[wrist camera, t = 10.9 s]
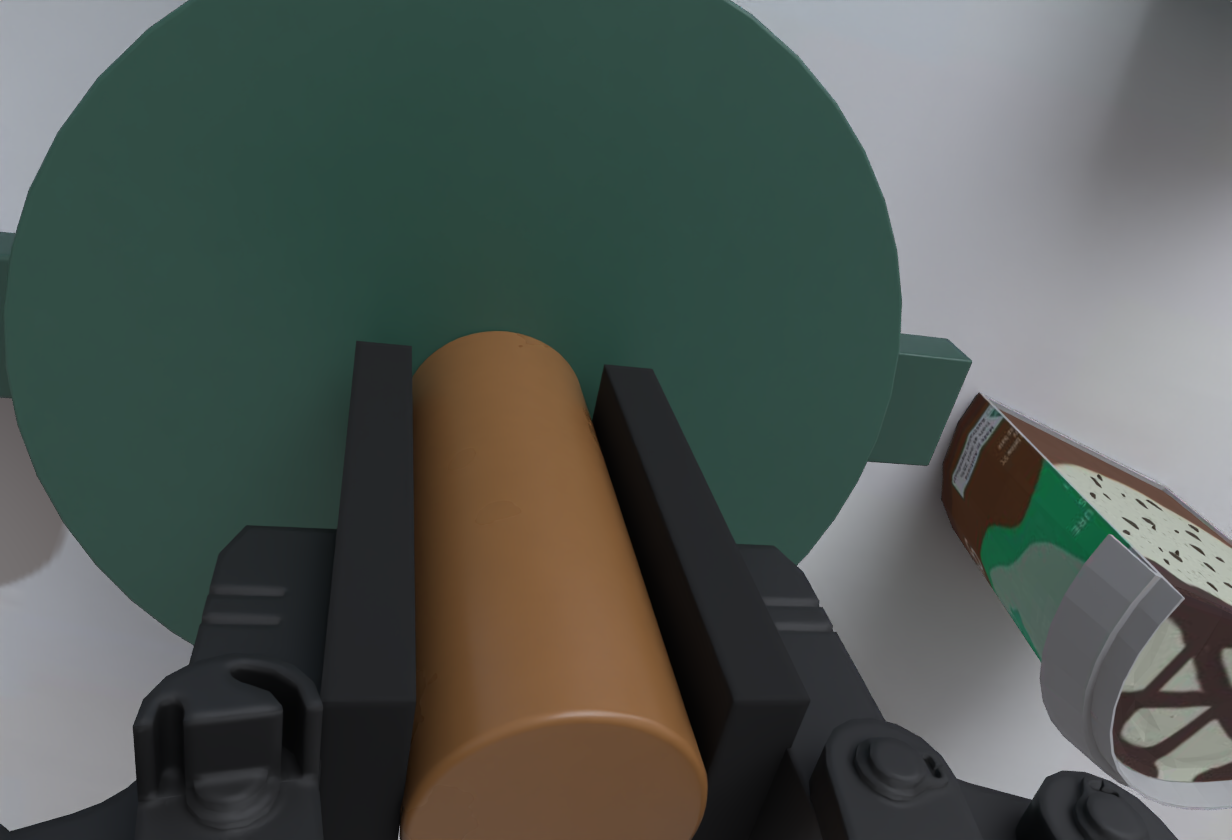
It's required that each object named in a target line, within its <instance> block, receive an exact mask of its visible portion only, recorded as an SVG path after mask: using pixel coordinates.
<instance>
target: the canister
mask: <svg viewBox="0 0 1232 840" xmlns="http://www.w3.org/2000/svg"><path fill="white" fill-rule="evenodd" d="M15 234H16V233H7V232H0V397H1V398H12V396H11V391H10V387H9V382H8V377H7V372H6V366H5V344H4V321H3V306H4V298H5V290H6V282H7V274H8V266H9V258H10V250H11V247H12V243H13V240H14V237H15ZM971 364H972V360H971V359H970V358H968V357H967V356H966V355H965V354H964V353H963V352H962V351H961V350H960V349H958V348H957V347H956V346H955V345H954V344H953V343H952V342H951V341H949V340H948V339H945V338H936V337H927V336H918V335H909V334H901V333H900V350H899V356H898V361H897V367H896V372H895V378H894V383H893V389H892V394H891V398H890V401H889V404H888V407H887V411H886V414H885V417H884V420H883V423H882V426H881V429H880V433H879V436H878V439H877V441H876V443H875V446H874V448H873V450H872V452H871V454H870V456H869V459H868V461H867V462H880V463H894V464H908V465H922V466H927V465H928V464H929V462H930V460H931V458H932V455H933V453H934V451H935V448H936V446H937V443H938V441H939V439H940V436H941V434H942V432H943V429H944V427H945V425H946V422H947V420H948V418H949V415H950V413H951V411H952V408H953V406H954V404H955V401H956V399H957V397H958V394H959V392H960V390H961V387H962V385H963V383H964V380H965V378H966V375H967V373H968V371H969V368H970V366H971Z"/></svg>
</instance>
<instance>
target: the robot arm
mask: <svg viewBox="0 0 1232 840" xmlns="http://www.w3.org/2000/svg"><path fill="white" fill-rule="evenodd" d="M592 424H593V427H594V430H595V433H596V436H597V439H598V442H599V445H600V448H601V451H602V454H603V457H604V460H605V463H606V466H607V470H608V473H609V476H610V479H611V482H612V485H613V488H614V491H615V494H616V497H617V500H618V503H619V506H620V509H621V512H622V515H623V519H624V522H625V525H626V528H627V531H628V534H629V537H630V540H631V543H632V546H633V549H634V552H635V555H636V558H637V561H638V565H639V568H640V571H641V574H642V577H643V580H644V583H645V586H646V589H647V592H648V595H649V598H650V601H651V604H652V607H653V611H654V614H655V617H656V620H657V623H658V626H659V629H660V632H661V635H662V638H663V641H664V644H665V647H666V650H667V653H668V656H669V660H670V663H671V666H672V669H673V672H674V675H675V678H676V681H677V684H678V687H679V690H680V693H681V696H682V699H683V702H684V706H685V709H686V712H687V715H688V718H689V721H690V724H691V727H692V730H693V733H694V736H695V739H696V742H697V745H698V748H699V752H700V755H701V758H702V761H703V764H704V767H705V770H706V773H707V780H708V794H707V803H706V808H705V812H704V815H703V819H702V821H701V823H700V825H699V827H698V830H697V831H696V833H695V835H694V836H693V838H692V839H691V840H1178V839H1177V838H1176V837H1175V835H1174V834H1173V833H1172V832H1171V831H1170V830H1169V829H1168V827H1167V826H1166V825H1165V824H1164V823H1163V822H1162V821H1161V819H1160V818H1158V817H1157V816H1156V815H1155V814H1154V813H1153V812H1152V811H1151V810H1150V809H1149V808H1148V807H1147V806H1146V805H1144V804H1143V803H1142V802H1141V801H1140V800H1139V799H1138V798H1137V797H1135V796H1134V795H1132V794H1130V793H1129V792H1127V791H1125V790H1124V789H1122V788H1121V787H1119V786H1117V785H1116V784H1114V783H1113V782H1111V781H1108V780H1105V779H1103V778H1100V777H1097V776H1094V775H1092V774H1089V773H1086V772H1076V771H1060V772H1058V773H1055V774H1053V775H1051V776H1048V777H1046V778H1045V780H1044V781H1043V783H1042V785H1041V786H1040V788H1039V790H1038V791H1037V793H1036V794H1035V796H1034V798H1033V799H1032V800H1031V799H1027V798H1023V797H1019V796H1016V795H1012V794H1008V793H1004V792H1001V791H997V790H993V789H989V788H986V787H982V786H978V785H974V784H971V783H967V782H965V781H962V780H959V779H956V777H955V776H954V774H953V773H952V771H951V769H950V768H949V766H948V765H947V763H946V762H945V760H944V759H943V757H942V756H941V755H940V754H939V753H938V752H937V751H936V750H934V749H933V748H932V747H931V746H930V745H929V744H928V743H927V742H926V741H924V740H923V739H922V738H921V737H919V736H917V735H915V734H914V733H912V732H910V731H908V730H906V729H904V728H903V727H901V726H899V725H897V724H893V723H890V722H886V721H885V719H884V718H883V716H882V714H881V712H880V710H879V709H878V707H877V705H876V703H875V701H874V699H873V698H872V696H871V694H870V692H869V690H868V689H867V687H866V685H865V683H864V681H863V680H862V678H861V676H860V674H859V672H858V670H857V669H856V667H855V665H854V663H853V661H852V660H851V658H850V656H849V654H848V652H847V651H846V649H845V647H844V645H843V643H842V641H841V640H840V638H839V636H838V634H837V632H833V629H832V628H833V625H832V623H831V622H830V620H829V618H828V616H827V614H826V612H825V611H824V609H823V607H819V600H818V598H817V596H816V594H815V593H814V591H813V589H812V587H811V585H810V583H809V582H808V580H807V578H806V576H805V574H804V573H803V571H802V570H801V569H799V568H798V567H797V566H796V565H795V564H794V563H793V562H792V561H791V560H790V559H788V558H787V557H786V556H785V555H784V554H783V553H782V552H781V551H780V550H779V549H778V548H776V547H775V546H774V545H751V544H736V543H735V540H734V538H733V536H732V534H731V532H730V530H729V528H728V526H727V524H726V522H725V520H724V517H723V515H722V513H721V511H720V509H719V507H718V505H717V503H716V501H715V499H714V496H713V494H712V492H711V490H710V488H709V486H708V484H707V482H706V480H705V478H704V475H703V473H702V471H701V469H700V467H699V465H698V463H697V461H696V459H695V457H694V455H693V452H692V450H691V448H690V446H689V444H688V442H687V440H686V438H685V436H684V434H683V431H682V429H681V427H680V425H679V423H678V421H677V419H676V417H675V415H674V413H673V410H672V408H671V406H670V404H669V402H668V400H667V398H666V396H665V394H664V392H663V390H662V387H661V385H660V383H659V381H658V379H657V377H656V375H655V373H654V371H653V369H649V368H639V367H628V366H618V365H607V364H604V367H603V372H602V377H601V381H600V386H599V390H598V395H597V400H596V404H595V409H594V414H593V418H592ZM415 707H416V642H415V561H414V479H413V398H412V346H407V345H397V344H386V343H376V342H365V341H356V348H355V358H354V367H353V377H352V387H351V397H350V407H349V417H348V427H347V436H346V446H345V456H344V466H343V476H342V486H341V495H340V505H339V515H338V525H337V529H325V528H302V527H279V526H256V525H246V526H245V527H244V528H243V529H242V530H241V531H240V532H239V533H238V534H237V535H236V536H235V537H234V538H233V539H232V540H231V541H230V542H229V543H228V545H227V546H226V547H225V548H224V549H223V550H222V551H221V552H220V553H219V554H218V558H217V562H216V565H215V569H214V573H213V577H212V580H211V584H210V588H209V595H207V599H206V603H205V607H204V610H203V614H202V621H201V624H200V625H199V629H198V633H197V637H196V640H195V644H194V648H193V651H192V655H191V659H190V663H189V665H187V666H185V667H183V668H182V669H180V670H178V671H176V672H174V673H172V674H170V675H168V676H166V677H165V678H164V679H163V680H162V681H161V682H160V683H159V684H158V685H157V686H156V687H155V688H154V689H153V690H152V691H151V692H150V693H149V694H148V695H147V696H146V697H145V698H144V699H143V701H142V704H141V707H140V709H139V712H138V714H137V717H136V720H135V722H134V725H133V736H134V750H135V764H136V778H137V780H136V781H135V782H133V783H132V784H131V785H130V786H129V787H128V788H126V789H124V790H123V791H121V792H119V793H117V794H116V795H114V796H112V797H110V798H109V799H107V800H105V801H103V802H102V803H99V804H97V805H94V806H91V807H89V808H86V809H83V810H81V811H78V812H75V813H73V814H70V815H66V816H63V817H59V818H56V819H52V820H49V821H45V822H42V823H38V824H35V825H31V826H28V827H24V828H21V829H17V830H14V831H10V832H9V830H7V829H6V828H5V827H4V826H3V825H1V824H0V840H398V834H399V826H400V809H401V804H402V800H403V796H404V789H405V782H406V774H407V767H408V759H409V752H410V744H411V737H412V730H413V722H414V715H415Z"/></svg>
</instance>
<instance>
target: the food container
mask: <svg viewBox="0 0 1232 840" xmlns="http://www.w3.org/2000/svg"><path fill="white" fill-rule="evenodd" d="M941 500H942V502H943V505H944V507H945V510H946V513H947V515H948V518H949V520H950V523H951V526H952V528H953V530H954V531H955V533H956V534H957V536H958V537H959V539H960V540H961V542H962V543H963V545H964V546H965V548H966V549H967V551H968V552H969V554H970V555H971V557H972V558H973V560H974V561H975V563H976V564H977V566H978V567H979V569H980V571H981V572H982V574H983V575H984V577H985V578H986V580H987V581H988V583H989V584H990V586H991V587H992V589H993V590H994V592H995V593H996V595H997V596H998V598H999V599H1000V601H1001V602H1002V604H1003V605H1004V607H1005V608H1006V610H1007V611H1008V613H1009V614H1010V616H1011V617H1012V619H1013V620H1014V622H1015V623H1016V625H1017V626H1018V628H1019V629H1020V631H1021V632H1022V634H1023V636H1024V637H1025V639H1026V640H1027V642H1028V643H1029V645H1030V646H1031V648H1032V649H1033V651H1034V652H1035V654H1036V655H1037V657H1038V658H1039V660H1040V661H1041V672H1040V683H1041V691H1042V698H1043V703H1044V705H1045V707H1046V710H1047V712H1048V715H1049V717H1050V719H1051V721H1052V723H1053V724H1054V725H1055V726H1056V727H1057V729H1058V730H1059V731H1060V732H1061V734H1062V735H1063V736H1064V737H1065V738H1066V739H1067V740H1068V741H1069V742H1071V743H1072V744H1073V745H1074V746H1075V747H1076V748H1077V749H1079V750H1080V751H1081V752H1082V753H1083V754H1084V755H1085V756H1087V757H1088V758H1089V759H1090V760H1091V761H1092V762H1093V763H1095V764H1096V765H1097V766H1098V767H1099V768H1100V769H1101V770H1103V771H1104V772H1105V773H1106V774H1108V775H1109V776H1111V777H1112V778H1113V779H1115V780H1116V781H1117V782H1119V783H1120V784H1123V785H1125V786H1128V787H1130V788H1132V789H1134V790H1135V791H1137V792H1138V793H1139V794H1141V795H1142V796H1143V797H1145V798H1147V799H1150V800H1152V801H1155V802H1157V803H1160V804H1162V805H1165V806H1171V807H1176V808H1181V809H1190V810H1217V809H1227V808H1232V540H1231V539H1230V538H1229V537H1227V536H1226V535H1225V534H1224V533H1222V532H1221V531H1220V530H1219V529H1217V528H1216V527H1215V526H1214V525H1213V524H1211V523H1210V522H1209V521H1208V520H1206V519H1205V518H1204V517H1203V516H1201V515H1200V514H1199V513H1198V512H1196V511H1195V510H1194V509H1193V508H1191V507H1190V506H1189V505H1188V504H1186V503H1185V502H1184V501H1183V500H1181V499H1180V498H1179V497H1178V496H1177V495H1175V494H1174V493H1173V492H1172V491H1170V490H1169V489H1168V488H1167V487H1165V486H1164V485H1162V484H1160V483H1158V482H1156V481H1154V480H1152V479H1150V478H1148V477H1146V476H1144V475H1142V474H1140V473H1138V472H1136V471H1134V470H1132V469H1130V468H1128V467H1126V466H1124V465H1122V464H1120V463H1118V462H1116V461H1114V460H1112V459H1110V458H1108V457H1106V456H1104V455H1102V454H1101V453H1099V452H1097V451H1095V450H1093V449H1091V448H1089V447H1087V446H1085V445H1083V444H1081V443H1079V442H1077V441H1075V440H1073V439H1071V438H1069V437H1067V436H1065V435H1063V434H1061V433H1059V432H1057V431H1055V430H1053V429H1051V428H1049V427H1047V426H1045V425H1043V424H1041V423H1039V422H1037V421H1035V420H1033V419H1031V418H1029V417H1027V416H1025V415H1023V414H1021V413H1019V412H1017V411H1015V410H1013V409H1011V408H1009V407H1007V406H1005V405H1003V404H1001V403H999V402H997V401H995V400H993V399H991V398H989V397H987V396H985V395H983V394H981V393H978V395H977V396H976V398H975V399H974V401H973V402H972V404H971V405H970V406H969V408H968V409H967V411H966V412H965V414H964V415H963V417H962V418H961V420H960V421H959V423H958V425H957V428H956V430H955V433H954V436H953V438H952V441H951V443H950V446H949V449H948V451H947V454H946V456H945V459H944V462H943V474H942V496H941Z"/></svg>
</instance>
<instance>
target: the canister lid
mask: <svg viewBox="0 0 1232 840" xmlns="http://www.w3.org/2000/svg"><path fill="white" fill-rule="evenodd" d="M901 310H902V297H901V286H900V276H899V265H898V255H897V248H896V244H895V240H894V235H893V231H892V227H891V223H890V219H889V215H888V211H887V207H886V203H885V199H884V197H883V194H882V192H881V189H880V187H879V184H878V182H877V179H876V177H875V175H874V172H873V170H872V167H871V165H870V162H869V160H868V157H867V155H866V152H865V150H864V148H863V147H862V145H861V143H860V142H859V140H858V138H857V137H856V135H855V133H854V132H853V130H852V128H851V127H850V125H849V123H848V121H847V120H846V118H845V116H844V115H843V113H842V111H841V110H840V108H839V106H838V105H837V103H836V102H835V100H834V99H833V98H832V97H831V95H830V94H829V93H828V92H827V91H826V89H825V88H824V87H823V86H822V84H821V83H820V82H819V81H818V80H817V78H816V77H815V76H814V75H813V73H812V72H811V71H810V70H809V69H808V67H807V66H806V65H805V64H804V62H803V61H802V60H801V59H800V58H799V56H797V55H796V54H795V53H794V52H793V51H792V50H791V49H790V48H789V47H788V46H786V45H785V44H784V43H783V42H782V41H781V40H780V39H779V38H778V37H776V36H775V35H774V34H773V33H772V32H771V31H770V30H769V29H768V28H766V27H765V26H764V25H763V24H762V23H761V22H760V21H759V20H758V19H756V18H755V17H754V16H753V15H752V14H750V13H749V12H747V11H746V10H744V9H743V8H741V7H740V6H738V5H737V4H735V3H734V2H732V1H731V0H188V1H187V2H185V3H184V4H183V5H181V6H180V7H178V8H177V9H175V10H174V11H173V12H171V13H170V14H168V15H167V16H165V17H164V18H163V19H161V20H160V21H158V22H157V23H155V24H154V25H153V26H151V27H150V28H148V29H147V30H146V31H145V32H144V33H143V34H142V35H141V36H140V37H139V38H138V39H137V40H136V41H135V42H134V43H133V44H132V45H131V46H130V47H129V48H128V49H127V50H126V51H125V52H124V53H123V54H122V55H121V56H120V57H119V58H118V59H116V60H115V61H114V62H113V63H112V64H111V65H110V66H109V67H108V68H107V69H106V70H105V71H104V72H103V73H102V74H101V75H100V76H99V77H98V78H97V80H96V81H95V82H94V84H93V85H92V86H91V88H90V89H89V90H88V92H87V93H86V94H85V96H84V97H83V99H82V100H81V101H80V103H79V104H78V105H77V107H76V108H75V109H74V111H73V112H72V114H71V115H70V116H69V118H68V119H67V120H66V122H65V123H64V124H63V126H62V127H61V129H60V130H59V131H58V133H57V135H56V137H55V139H54V141H53V143H52V145H51V147H50V149H49V151H48V153H47V155H46V157H45V159H44V161H43V163H42V165H41V167H40V169H39V171H38V173H37V175H36V177H35V179H34V181H33V183H32V185H31V187H30V189H29V191H28V194H27V197H26V201H25V204H24V207H23V210H22V214H21V217H20V220H19V224H18V227H17V230H16V234H15V237H14V240H13V243H12V247H11V250H10V258H9V266H8V274H7V282H6V290H5V298H4V306H3V321H4V344H5V366H6V372H7V377H8V382H9V387H10V391H11V396H12V401H13V405H14V410H15V415H16V420H17V424H18V427H19V430H20V432H21V435H22V438H23V440H24V443H25V446H26V448H27V451H28V453H29V456H30V459H31V461H32V464H33V467H34V469H35V472H36V474H37V477H38V478H39V480H40V482H41V484H42V485H43V487H44V489H45V491H46V493H47V494H48V496H49V498H50V500H51V502H52V503H53V505H54V507H55V509H56V510H57V512H58V514H59V516H60V518H61V519H62V521H63V523H64V524H65V525H66V527H67V528H68V529H69V531H70V532H71V533H72V535H73V536H74V537H75V538H76V540H77V541H78V542H79V544H80V545H81V546H82V548H83V549H84V550H85V552H86V553H87V554H88V555H89V557H90V558H91V559H92V561H93V562H94V563H95V565H96V566H97V567H98V568H99V569H100V570H101V571H102V572H103V573H104V574H105V575H106V576H107V577H108V578H109V579H110V580H111V581H112V582H113V583H114V584H115V585H116V586H117V587H118V588H119V589H120V590H121V591H122V592H123V593H124V594H125V595H126V596H127V597H128V598H129V599H130V600H131V601H133V602H134V603H135V604H137V605H138V606H139V607H140V608H142V609H143V610H144V611H146V612H147V613H148V614H149V615H151V616H152V617H153V618H154V619H156V620H157V621H158V622H160V623H161V624H162V625H163V626H165V627H166V628H167V629H169V630H170V631H171V632H173V633H174V634H176V635H178V636H179V637H181V638H182V639H184V640H186V641H187V642H189V643H191V644H192V645H194V644H195V640H196V637H197V633H198V629H199V625H200V624H201V621H202V614H203V610H204V607H205V603H206V599H207V595H209V588H210V584H211V580H212V577H213V573H214V569H215V565H216V562H217V558H218V554H219V553H220V552H221V551H222V550H223V549H224V548H225V547H226V546H227V545H228V543H229V542H230V541H231V540H232V539H233V538H234V537H235V536H236V535H237V534H238V533H239V532H240V531H241V530H242V529H243V528H244V527H245V526H246V525H256V526H279V527H302V528H325V529H337V525H338V515H339V505H340V495H341V486H342V476H343V466H344V456H345V446H346V436H347V427H348V417H349V407H350V397H351V387H352V377H353V367H354V358H355V348H356V341H365V342H376V343H386V344H397V345H407V346H412V398H413V479H414V561H415V642H416V707H415V715H414V722H413V730H412V737H411V744H410V752H409V759H408V767H407V774H406V782H405V789H404V796H403V800H402V804H401V809H400V840H691V839H692V838H693V836H694V835H695V833H696V831H697V830H698V827H699V825H700V823H701V821H702V819H703V815H704V812H705V808H706V803H707V794H708V780H707V773H706V770H705V767H704V764H703V761H702V758H701V755H700V752H699V748H698V745H697V742H696V739H695V736H694V733H693V730H692V727H691V724H690V721H689V718H688V715H687V712H686V709H685V706H684V702H683V699H682V696H681V693H680V690H679V687H678V684H677V681H676V678H675V675H674V672H673V669H672V666H671V663H670V660H669V656H668V653H667V650H666V647H665V644H664V641H663V638H662V635H661V632H660V629H659V626H658V623H657V620H656V617H655V614H654V611H653V607H652V604H651V601H650V598H649V595H648V592H647V589H646V586H645V583H644V580H643V577H642V574H641V571H640V568H639V565H638V561H637V558H636V555H635V552H634V549H633V546H632V543H631V540H630V537H629V534H628V531H627V528H626V525H625V522H624V519H623V515H622V512H621V509H620V506H619V503H618V500H617V497H616V494H615V491H614V488H613V485H612V482H611V479H610V476H609V473H608V470H607V466H606V463H605V460H604V457H603V454H602V451H601V448H600V445H599V442H598V439H597V436H596V433H595V430H594V427H593V424H592V418H593V414H594V409H595V404H596V400H597V395H598V390H599V386H600V381H601V377H602V372H603V367H604V364H607V365H618V366H628V367H639V368H649V369H653V371H654V373H655V375H656V377H657V379H658V381H659V383H660V385H661V387H662V390H663V392H664V394H665V396H666V398H667V400H668V402H669V404H670V406H671V408H672V410H673V413H674V415H675V417H676V419H677V421H678V423H679V425H680V427H681V429H682V431H683V434H684V436H685V438H686V440H687V442H688V444H689V446H690V448H691V450H692V452H693V455H694V457H695V459H696V461H697V463H698V465H699V467H700V469H701V471H702V473H703V475H704V478H705V480H706V482H707V484H708V486H709V488H710V490H711V492H712V494H713V496H714V499H715V501H716V503H717V505H718V507H719V509H720V511H721V513H722V515H723V517H724V520H725V522H726V524H727V526H728V528H729V530H730V532H731V534H732V536H733V538H734V540H735V543H736V544H751V545H774V546H775V547H776V548H778V549H779V550H780V551H781V552H782V553H783V554H784V555H785V556H786V557H787V558H788V559H790V560H791V561H792V562H793V563H794V564H795V565H796V566H797V565H798V564H799V563H800V562H801V561H802V559H803V558H804V557H805V556H806V555H807V554H808V553H809V552H810V550H811V549H812V548H813V547H814V545H815V544H816V543H817V541H818V540H819V539H820V538H821V536H822V535H823V534H824V532H825V531H826V530H827V529H828V527H829V526H830V525H831V523H832V522H833V521H834V520H835V518H836V516H837V515H838V513H839V511H840V510H841V508H842V507H843V505H844V503H845V502H846V500H847V498H848V497H849V495H850V493H851V492H852V490H853V489H854V487H855V485H856V484H857V482H858V480H859V478H860V476H861V474H862V472H863V469H864V467H865V465H866V463H867V461H868V459H869V456H870V454H871V452H872V450H873V448H874V446H875V443H876V441H877V439H878V436H879V433H880V429H881V426H882V423H883V420H884V417H885V414H886V411H887V407H888V404H889V401H890V398H891V394H892V389H893V383H894V378H895V372H896V367H897V361H898V356H899V350H900V332H901Z"/></svg>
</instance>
